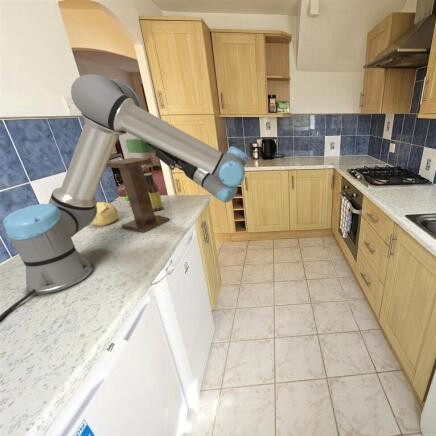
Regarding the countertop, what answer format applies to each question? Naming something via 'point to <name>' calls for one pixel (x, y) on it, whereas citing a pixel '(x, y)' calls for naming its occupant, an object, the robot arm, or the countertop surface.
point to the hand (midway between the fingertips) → (153, 140)
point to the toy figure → (138, 146)
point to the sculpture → (105, 214)
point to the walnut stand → (137, 194)
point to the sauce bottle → (153, 192)
